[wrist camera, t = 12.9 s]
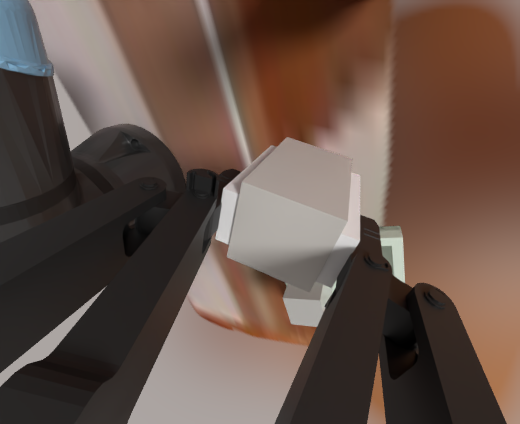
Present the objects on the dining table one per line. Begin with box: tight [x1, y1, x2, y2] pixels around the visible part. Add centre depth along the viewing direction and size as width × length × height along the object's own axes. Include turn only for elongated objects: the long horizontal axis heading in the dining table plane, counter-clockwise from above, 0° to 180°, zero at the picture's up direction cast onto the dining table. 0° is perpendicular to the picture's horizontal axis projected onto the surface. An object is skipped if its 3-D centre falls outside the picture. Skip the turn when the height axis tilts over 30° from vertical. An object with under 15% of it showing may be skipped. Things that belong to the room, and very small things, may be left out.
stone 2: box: [283, 282, 333, 327], centre depth 29 cm, size 4×4×7 cm
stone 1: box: [227, 137, 352, 293], centre depth 13 cm, size 4×4×7 cm
